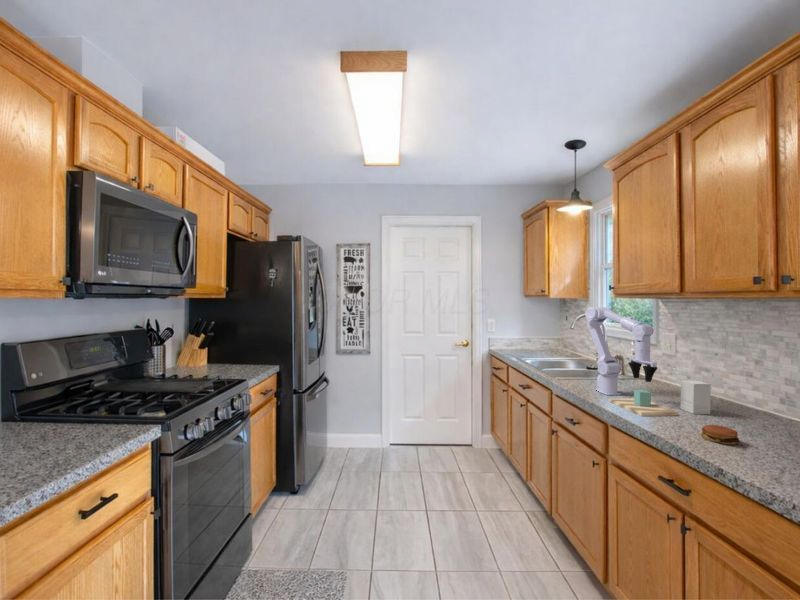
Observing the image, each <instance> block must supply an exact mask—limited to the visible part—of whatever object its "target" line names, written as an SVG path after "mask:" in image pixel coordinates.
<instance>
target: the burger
mask: <svg viewBox="0 0 800 600" xmlns="http://www.w3.org/2000/svg"><path fill="white" fill-rule="evenodd" d="M701 430H702V431H701V435H700V436H701V437H702V439H703V440H706V441H708V440H709V442H712V441H713V442H714V443H716V442H717V443H718V444H721V443H722V444H721V445H737V444H739V443H740V438H739V434H738V431H737V430H735V429H733V428H730V427H727V426H723V425H716V424H706V425H704V426H702V427H701ZM713 442H712V443H713Z"/></svg>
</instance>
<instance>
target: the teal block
mask: <svg viewBox="0 0 800 600" xmlns="http://www.w3.org/2000/svg"><path fill="white" fill-rule="evenodd" d="M633 398H634V404H636V405H638V406H646V407H651V402H652V392H651V391H648V390H646V389H633Z"/></svg>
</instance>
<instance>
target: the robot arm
mask: <svg viewBox="0 0 800 600" xmlns="http://www.w3.org/2000/svg"><path fill="white" fill-rule="evenodd" d="M584 315H585V318H586V325H587V328H588V331H589V332H588V333H589V334H590V337H591V339H592V340H591V341H592V342H593V345H594V347H595V350H596V353H597V355H598V360H597V361H596V364H597V371H598V373H599V374H598V375H597V378H596V388H595V389H594V391H596V390H597V391H596V392H598V391H599V392H598V393H600V394H603V395H605V396H621V395H622V393H620V392H618V384H619V383H618V378H619V374H621V372H622V366H621V364H620V363H619V362H618V360H617V358H616V357H614V356H613V355H612V354H611V352H610V349H609V347H608V344H607V342H606V339H605V336H604V333H603V332H602V329H601V325H602V324H603V323H604V322H605V321H606V320H607V319H609V320H611V321H614V322H615V323H618V324H620V327H621V328H623V329H624V330H627V331H629V332H631V333H632V334H633V335H634V340H635V345H634V346H635V349H634V350H635V353H634V354H635V356H634V357H633V356H629V359H628V360H629V362H628V363H627V364H628V365H629V368H630V370H631V373H632V376H633V379H639V378H640V375H641V374H640V371H641V368H642V369H643V370H644V380H645V382H646V383H651V382H652V380H653V377H654V374H655V373H656V371H657V370H658V366H657V365H658V364H657V362H655V361H653V360H651V337H652V335H653V334H654V327H653V326H652V325H650V324H649V323H644V324H643V322H642V321H638V320H636V319H634V317H633V316H625V317H624V316H622V315H620V314H618V313H617V312H615V311H613V310H611V309H610V308H607V307H604V306H603V307H602V306H601V307H593V306H591V307H587V309H586V311H585V314H584Z"/></svg>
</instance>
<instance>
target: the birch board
mask: <svg viewBox="0 0 800 600" xmlns="http://www.w3.org/2000/svg"><path fill="white" fill-rule="evenodd" d="M608 401H609V403H611V404H613V405H615V406H618V407H620V408H623V409H624V410H627V411H628V412H631V413H633V414H635V415H638V416H640V417H659V416H660V417H663V416H664V417H669V416H672V417H673V416H674V417H675V416H679V411H677V410H674V409H672V408H669V407H666V406H663V405H661V404H658V403H655V402H653V401H651V407H646V406H638V405H636V404H634V397H631V398H609V399H608Z"/></svg>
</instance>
